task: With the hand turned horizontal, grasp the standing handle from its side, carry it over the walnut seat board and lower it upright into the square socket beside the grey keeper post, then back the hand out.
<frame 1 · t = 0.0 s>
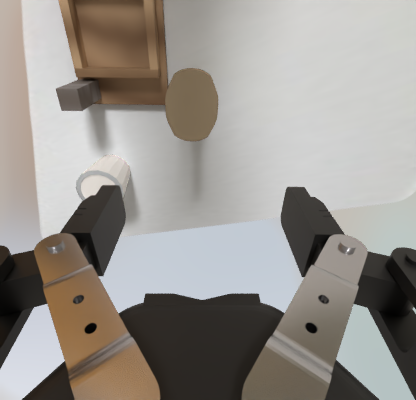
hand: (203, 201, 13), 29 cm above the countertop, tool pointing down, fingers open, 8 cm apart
white faceted cup: (114, 169, 44), on the countertop
seat board: (117, 29, 33), on the countertop
handle: (196, 81, 37), on the countertop
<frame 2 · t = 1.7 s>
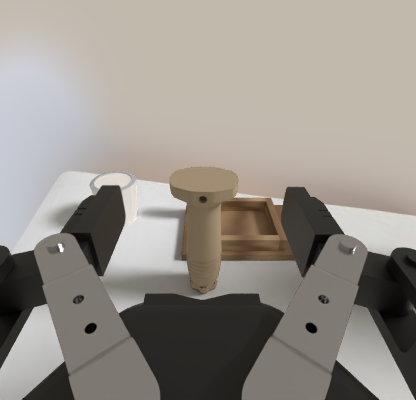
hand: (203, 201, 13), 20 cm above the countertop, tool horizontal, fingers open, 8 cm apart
white faceted cup: (121, 217, 45), on the countertop
seat board: (241, 231, 41), on the countertop
handle: (203, 285, 33), on the countertop
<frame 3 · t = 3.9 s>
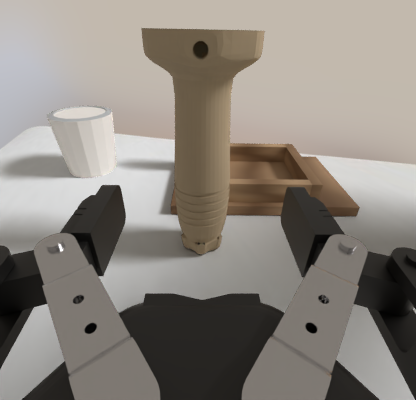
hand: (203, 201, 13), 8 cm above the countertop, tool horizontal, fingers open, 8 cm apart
white faceted cup: (94, 169, 34), on the countertop
seat board: (254, 184, 31), on the countertop
handle: (201, 244, 22), on the countertop
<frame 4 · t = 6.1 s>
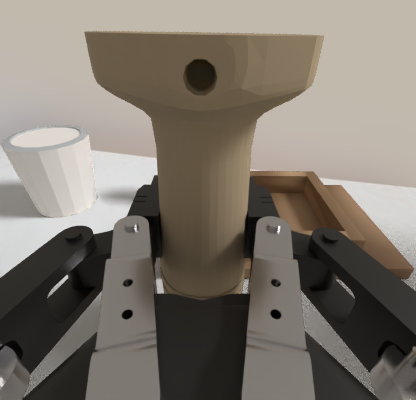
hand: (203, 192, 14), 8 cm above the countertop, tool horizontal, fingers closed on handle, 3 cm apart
white faceted cup: (68, 203, 27), on the countertop
seat board: (269, 226, 24), on the countertop
handle: (202, 333, 16), on the countertop, touching gripper
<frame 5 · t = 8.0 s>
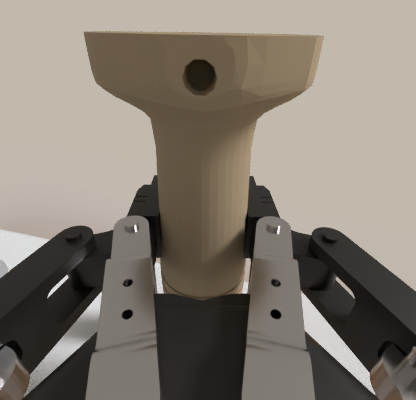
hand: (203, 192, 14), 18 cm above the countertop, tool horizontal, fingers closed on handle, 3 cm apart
handle: (202, 333, 16), point 9 cm above the countertop, touching gripper
when the fingers open (10 cm above the countertop, at t = 9.9 s): handle stays where it is, resting on seat board.
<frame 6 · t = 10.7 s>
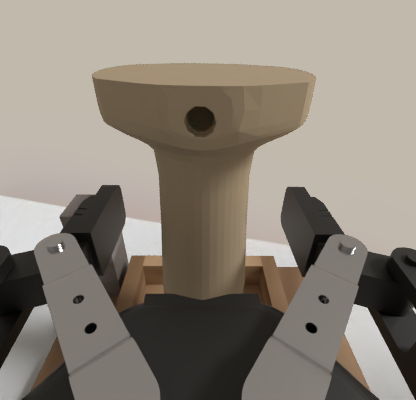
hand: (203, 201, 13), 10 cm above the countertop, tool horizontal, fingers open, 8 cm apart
seat board: (202, 349, 17), on the countertop
handle: (203, 344, 16), point 1 cm above the countertop, touching seat board
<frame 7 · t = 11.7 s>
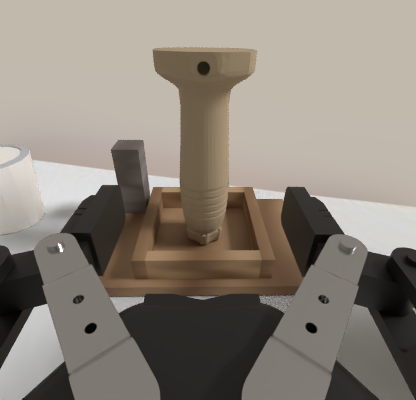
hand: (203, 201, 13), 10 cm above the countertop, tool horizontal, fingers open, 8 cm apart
white faceted cup: (16, 219, 28), on the countertop
seat board: (203, 242, 25), on the countertop
handle: (204, 236, 25), point 1 cm above the countertop, touching seat board
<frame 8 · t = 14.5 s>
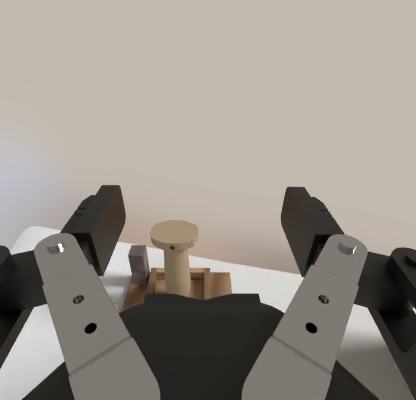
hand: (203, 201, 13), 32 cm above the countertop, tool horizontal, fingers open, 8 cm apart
seat board: (179, 303, 45), on the countertop
handle: (179, 301, 44), point 1 cm above the countertop, touching seat board
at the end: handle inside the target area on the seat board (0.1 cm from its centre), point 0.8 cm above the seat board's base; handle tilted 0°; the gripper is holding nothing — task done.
